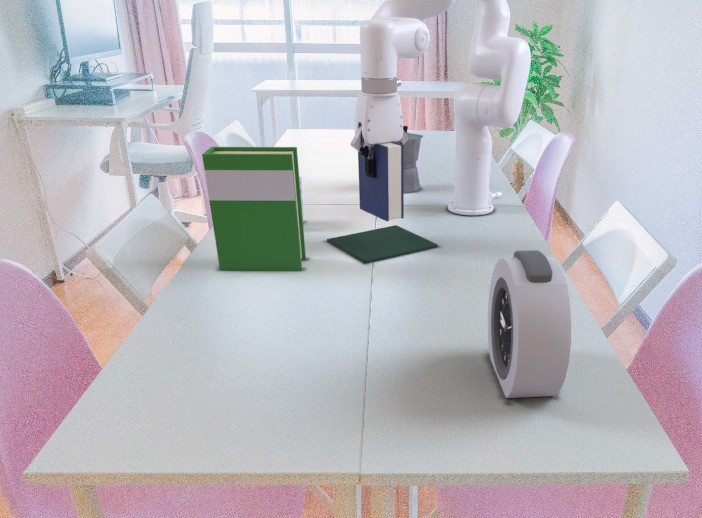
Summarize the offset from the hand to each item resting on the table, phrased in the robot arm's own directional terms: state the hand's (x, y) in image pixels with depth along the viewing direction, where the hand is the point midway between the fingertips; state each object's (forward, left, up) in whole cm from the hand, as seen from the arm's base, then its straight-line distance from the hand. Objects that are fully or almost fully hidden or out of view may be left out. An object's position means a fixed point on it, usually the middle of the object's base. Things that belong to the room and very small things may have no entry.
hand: (380, 174), depth 150 cm
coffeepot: (-32, -39, -16) cm, 53 cm away
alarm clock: (+15, +65, -16) cm, 69 cm away
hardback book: (+29, -3, -16) cm, 33 cm away
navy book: (0, 0, -9) cm, 9 cm away
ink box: (+12, -25, -16) cm, 32 cm away
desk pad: (0, 0, -16) cm, 16 cm away
